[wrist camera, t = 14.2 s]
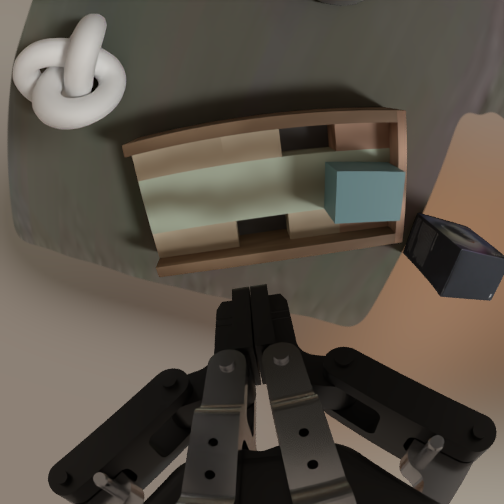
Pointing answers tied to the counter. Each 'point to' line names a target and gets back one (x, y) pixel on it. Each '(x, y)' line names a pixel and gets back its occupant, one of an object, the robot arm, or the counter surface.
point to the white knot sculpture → (71, 76)
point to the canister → (341, 2)
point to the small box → (454, 258)
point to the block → (363, 191)
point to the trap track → (261, 186)
